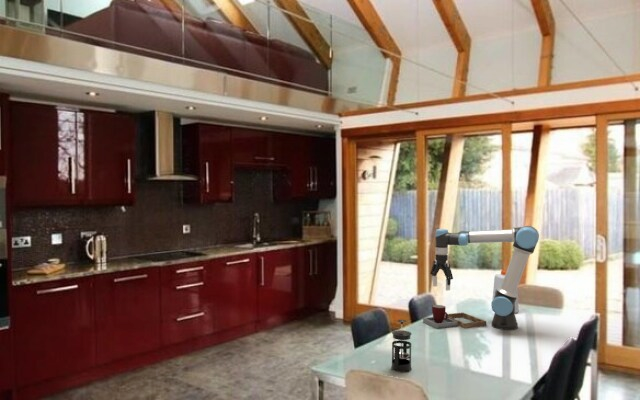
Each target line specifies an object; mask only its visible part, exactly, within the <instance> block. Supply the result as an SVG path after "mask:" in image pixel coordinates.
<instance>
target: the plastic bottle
mask: <svg viewBox="0 0 640 400" xmlns="http://www.w3.org/2000/svg"><path fill="white" fill-rule="evenodd" d="M506 271H507V270H501V271H500V273H499V274H494V279H493V281H494V282H493V291H492V300H493V299H494V296H495V290H496V289H498V288H500V287H501V285H502V282H503V280H504V277H505V274H506ZM518 290H519V289H517V290H516V295H517V298H516V301H515V315H516V314H518V313H519V312H520V310H519V309H520V308H519V293H518ZM491 309H492V308H491ZM492 311H493V309H492Z"/></svg>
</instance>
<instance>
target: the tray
mask: <svg viewBox="0 0 640 400" xmlns="http://www.w3.org/2000/svg"><path fill="white" fill-rule="evenodd" d="M445 318H446V317H445V316H444V319H445ZM422 320H423V321H422V323H423V324H424V325H427V326H429V327H431V326H432V327H431V328H433V327H434V328H433V329H436V330H441V329H448V328H457V327H459V326H458V322H457V321H454V320H452V319H450V318H447V319H446V320H443V321H442V323H436V322H435V321H434V318H433V316H432V317H422Z"/></svg>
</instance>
